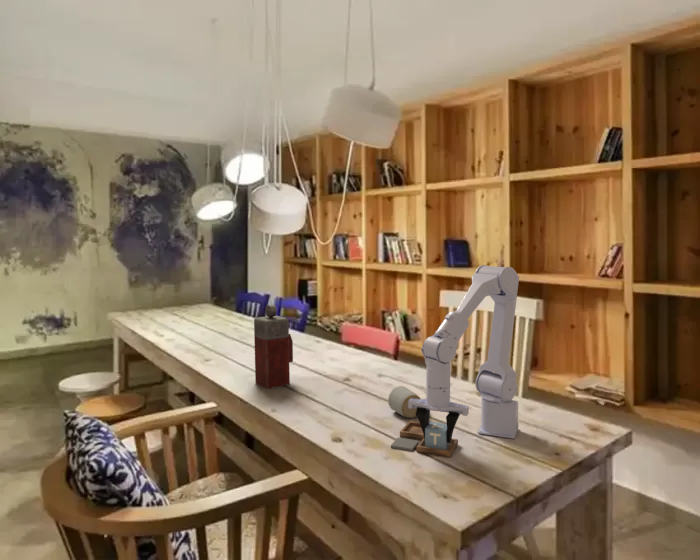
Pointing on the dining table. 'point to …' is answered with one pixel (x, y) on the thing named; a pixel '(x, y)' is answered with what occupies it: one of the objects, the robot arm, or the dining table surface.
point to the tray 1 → (412, 431)
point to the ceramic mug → (402, 401)
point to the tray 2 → (438, 452)
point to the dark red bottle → (272, 349)
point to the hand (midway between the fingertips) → (437, 439)
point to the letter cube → (436, 436)
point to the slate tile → (404, 444)
